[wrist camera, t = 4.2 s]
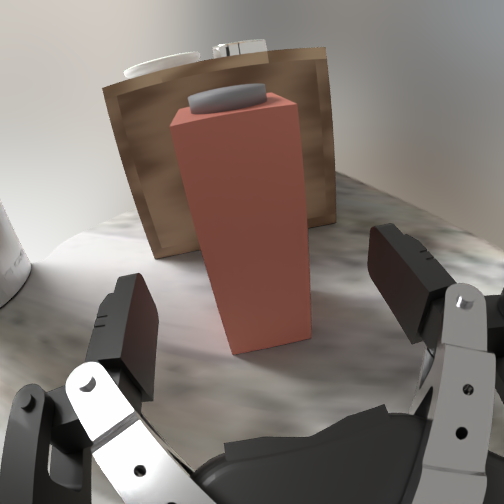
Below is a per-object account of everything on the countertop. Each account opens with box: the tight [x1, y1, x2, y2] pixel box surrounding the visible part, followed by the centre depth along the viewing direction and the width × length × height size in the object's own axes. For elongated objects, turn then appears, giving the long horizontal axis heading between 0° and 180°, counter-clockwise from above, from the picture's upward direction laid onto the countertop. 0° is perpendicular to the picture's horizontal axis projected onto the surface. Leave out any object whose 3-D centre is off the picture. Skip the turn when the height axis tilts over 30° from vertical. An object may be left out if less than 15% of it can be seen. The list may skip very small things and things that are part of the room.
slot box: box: [102, 47, 336, 259], centre depth 25 cm, size 14×14×13 cm
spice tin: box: [169, 84, 311, 355], centre depth 14 cm, size 4×4×12 cm
